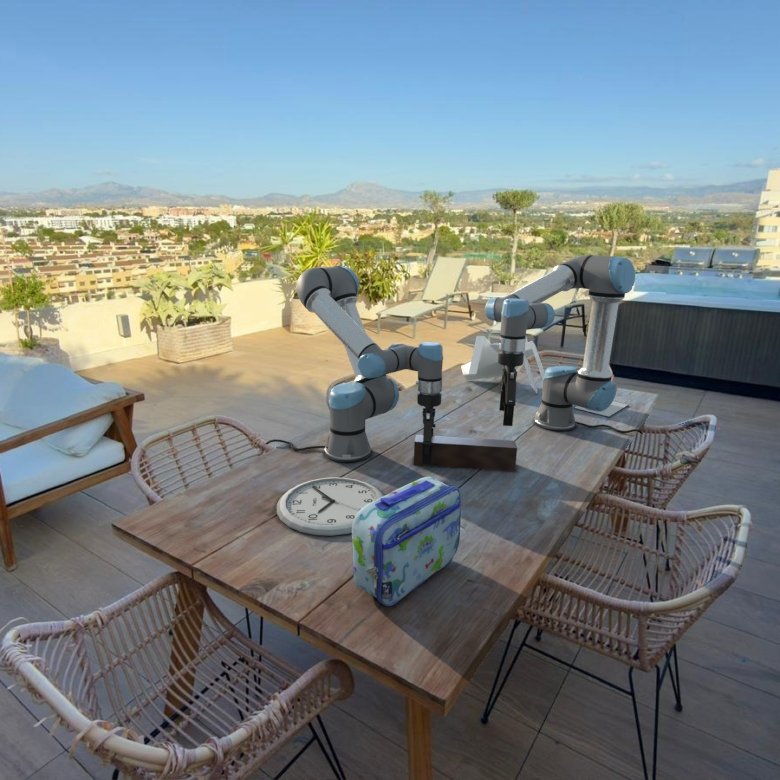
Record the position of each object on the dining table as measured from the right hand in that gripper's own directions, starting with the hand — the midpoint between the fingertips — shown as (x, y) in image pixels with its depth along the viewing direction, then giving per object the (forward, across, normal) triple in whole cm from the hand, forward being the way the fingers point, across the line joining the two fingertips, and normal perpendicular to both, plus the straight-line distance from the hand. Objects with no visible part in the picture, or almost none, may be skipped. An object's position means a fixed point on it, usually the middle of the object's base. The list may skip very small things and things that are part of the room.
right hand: (505, 417), depth 163 cm
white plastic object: (+17, -89, +7) cm, 91 cm away
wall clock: (+17, +32, -48) cm, 60 cm away
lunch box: (+17, +60, -25) cm, 67 cm away
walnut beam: (+17, 0, -12) cm, 21 cm away
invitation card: (+17, -67, +48) cm, 84 cm away
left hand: (+14, 0, -24) cm, 28 cm away
